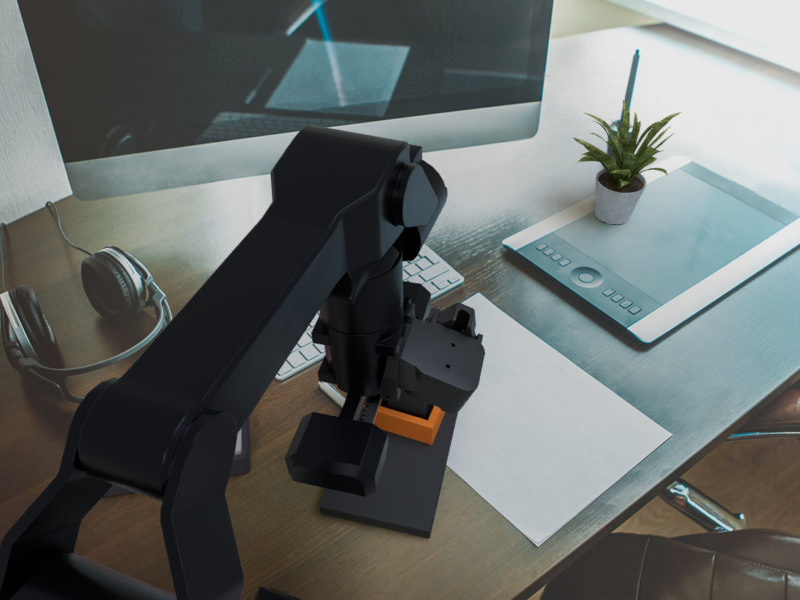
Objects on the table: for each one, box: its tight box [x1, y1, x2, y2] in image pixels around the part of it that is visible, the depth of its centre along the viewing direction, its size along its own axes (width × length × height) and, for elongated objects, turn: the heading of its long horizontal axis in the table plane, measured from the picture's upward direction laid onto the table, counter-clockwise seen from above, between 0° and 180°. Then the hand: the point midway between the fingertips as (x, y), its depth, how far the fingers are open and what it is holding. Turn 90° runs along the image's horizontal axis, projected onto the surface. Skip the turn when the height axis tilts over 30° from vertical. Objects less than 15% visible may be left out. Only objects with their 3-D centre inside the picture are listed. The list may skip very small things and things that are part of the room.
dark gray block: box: [388, 306, 442, 420], centre depth 67 cm, size 5×4×13 cm
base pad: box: [318, 396, 459, 539], centre depth 68 cm, size 19×11×4 cm, turn 166°
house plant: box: [572, 99, 682, 226], centre depth 93 cm, size 14×14×16 cm
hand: (372, 436), depth 55 cm, fingers open, 9 cm apart
